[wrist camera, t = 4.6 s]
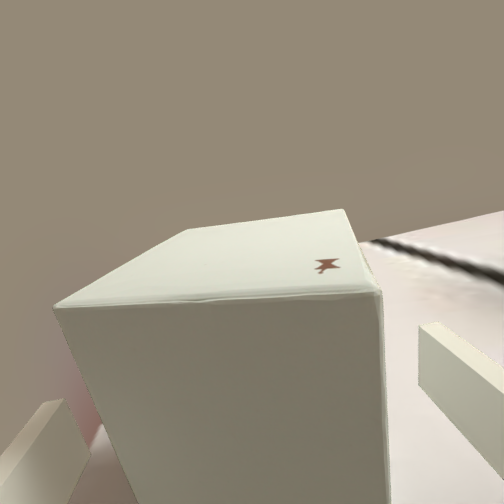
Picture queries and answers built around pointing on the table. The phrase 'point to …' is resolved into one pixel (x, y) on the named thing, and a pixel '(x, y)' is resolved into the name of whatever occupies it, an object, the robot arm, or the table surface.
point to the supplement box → (241, 365)
